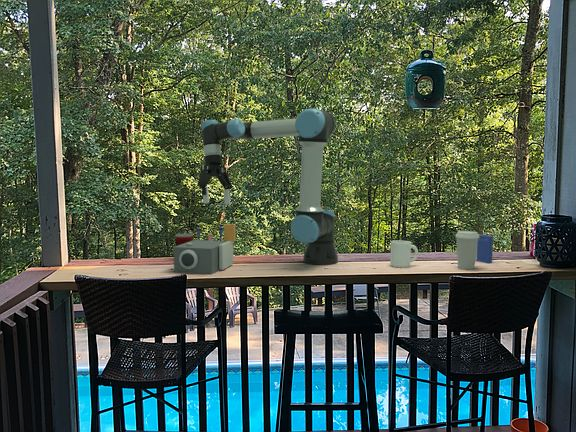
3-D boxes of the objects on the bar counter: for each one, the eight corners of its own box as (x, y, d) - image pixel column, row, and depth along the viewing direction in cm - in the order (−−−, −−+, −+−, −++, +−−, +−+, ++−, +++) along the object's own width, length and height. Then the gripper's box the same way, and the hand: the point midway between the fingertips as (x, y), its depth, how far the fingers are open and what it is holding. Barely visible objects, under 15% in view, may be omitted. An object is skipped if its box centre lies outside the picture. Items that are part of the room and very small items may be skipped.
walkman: (492, 262, 245) (493, 235, 244) (488, 263, 244) (489, 235, 242) (476, 259, 251) (477, 233, 250) (472, 260, 250) (473, 233, 248)
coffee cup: (449, 266, 235) (450, 231, 234) (467, 265, 239) (468, 230, 237) (464, 270, 226) (466, 234, 225) (483, 269, 230) (484, 233, 229)
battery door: (235, 264, 236) (235, 224, 235) (225, 269, 224) (224, 227, 222) (226, 263, 237) (225, 223, 236) (214, 269, 225) (214, 227, 223)
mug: (414, 263, 242) (415, 240, 241) (421, 267, 233) (422, 242, 232) (387, 264, 240) (388, 240, 239) (394, 268, 232) (394, 243, 231)
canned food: (197, 258, 251) (196, 234, 250) (182, 261, 245) (182, 236, 244) (186, 256, 256) (186, 232, 255) (172, 259, 250) (171, 234, 249)
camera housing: (229, 264, 237) (229, 239, 236) (210, 275, 216) (210, 247, 215) (194, 262, 241) (193, 238, 240) (172, 272, 220) (171, 245, 219)
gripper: (225, 160, 258) (229, 205, 256) (186, 154, 238) (190, 203, 235) (237, 157, 254) (242, 203, 252) (199, 150, 233) (203, 200, 231)
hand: (217, 203), depth 244 cm, fingers open, 13 cm apart
